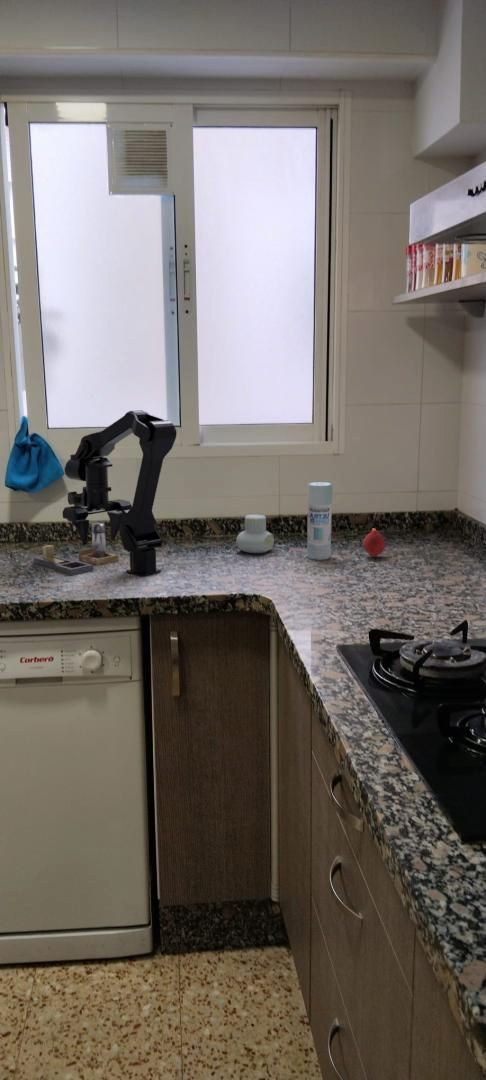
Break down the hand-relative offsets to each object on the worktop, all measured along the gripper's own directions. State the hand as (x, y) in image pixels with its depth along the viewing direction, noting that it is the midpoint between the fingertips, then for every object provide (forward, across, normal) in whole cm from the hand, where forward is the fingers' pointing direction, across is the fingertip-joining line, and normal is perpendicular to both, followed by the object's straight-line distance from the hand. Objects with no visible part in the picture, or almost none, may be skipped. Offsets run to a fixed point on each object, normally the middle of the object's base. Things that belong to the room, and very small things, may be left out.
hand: (99, 541), depth 231 cm
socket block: (+5, +11, -2) cm, 12 cm away
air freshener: (+6, -37, +22) cm, 43 cm away
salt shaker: (+5, 0, 0) cm, 5 cm away
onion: (+6, -54, +50) cm, 74 cm away
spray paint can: (+6, -44, +39) cm, 59 cm away
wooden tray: (+5, 0, 0) cm, 5 cm away
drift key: (+5, +11, -5) cm, 13 cm away
